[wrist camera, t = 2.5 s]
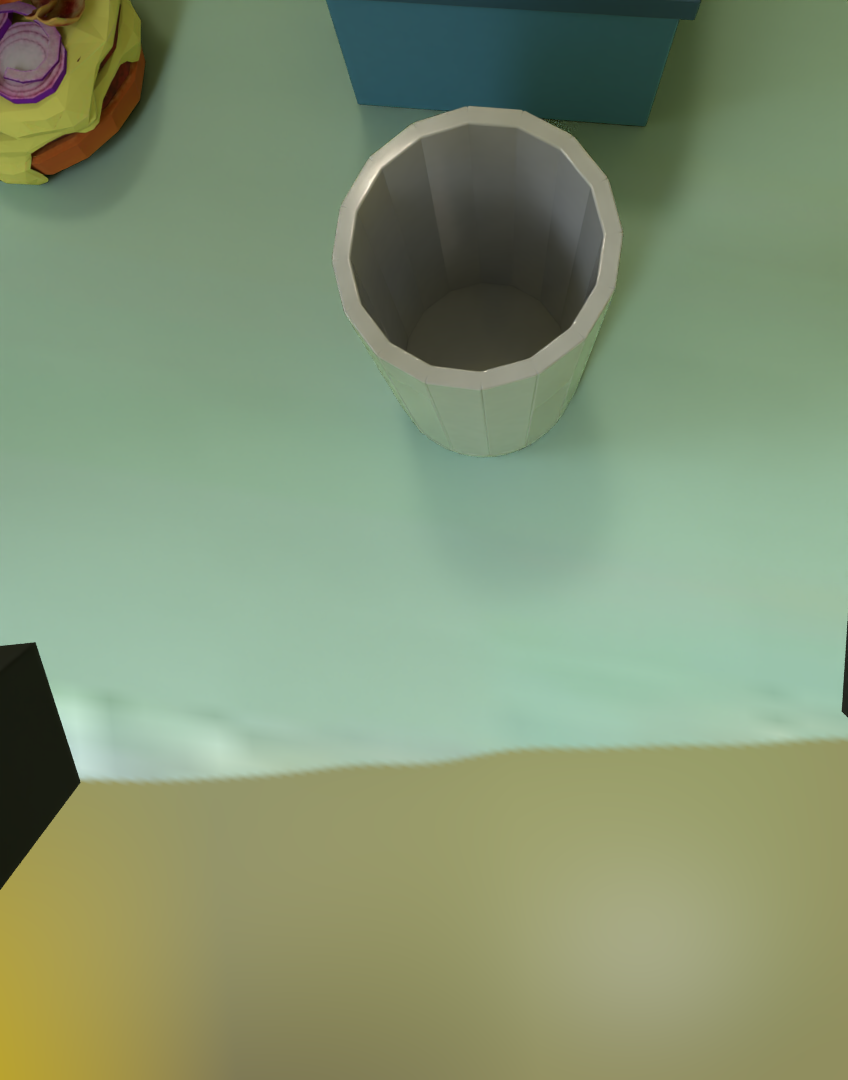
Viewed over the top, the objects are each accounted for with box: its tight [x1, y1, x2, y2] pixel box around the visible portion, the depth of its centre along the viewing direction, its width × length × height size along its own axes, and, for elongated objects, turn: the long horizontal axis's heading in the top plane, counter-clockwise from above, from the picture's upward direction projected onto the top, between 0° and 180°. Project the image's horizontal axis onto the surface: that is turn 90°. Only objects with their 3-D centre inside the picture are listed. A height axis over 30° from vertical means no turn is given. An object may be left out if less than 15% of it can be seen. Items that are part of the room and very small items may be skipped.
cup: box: [332, 106, 623, 457], centre depth 24 cm, size 7×7×11 cm
